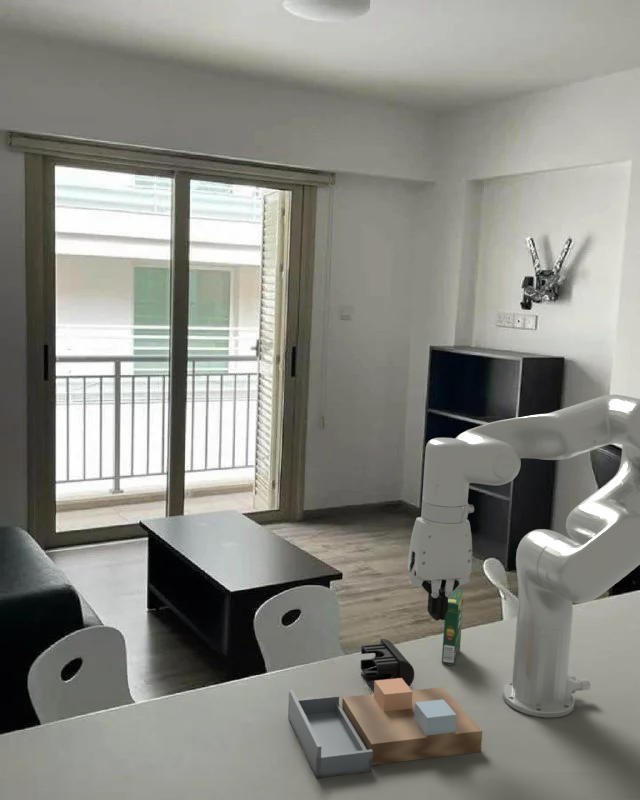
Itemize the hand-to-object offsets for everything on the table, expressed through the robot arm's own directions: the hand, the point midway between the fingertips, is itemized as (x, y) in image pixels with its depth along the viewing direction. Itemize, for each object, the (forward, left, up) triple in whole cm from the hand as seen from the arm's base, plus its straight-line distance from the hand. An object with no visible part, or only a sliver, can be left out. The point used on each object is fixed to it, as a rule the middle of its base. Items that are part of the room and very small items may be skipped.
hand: (436, 617), depth 139 cm
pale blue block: (+3, +8, -15) cm, 17 cm away
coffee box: (-14, -22, -18) cm, 31 cm away
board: (+6, +4, -18) cm, 19 cm away
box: (+20, +4, -18) cm, 27 cm away
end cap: (+3, -14, -19) cm, 23 cm away
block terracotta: (+7, 0, -15) cm, 16 cm away
